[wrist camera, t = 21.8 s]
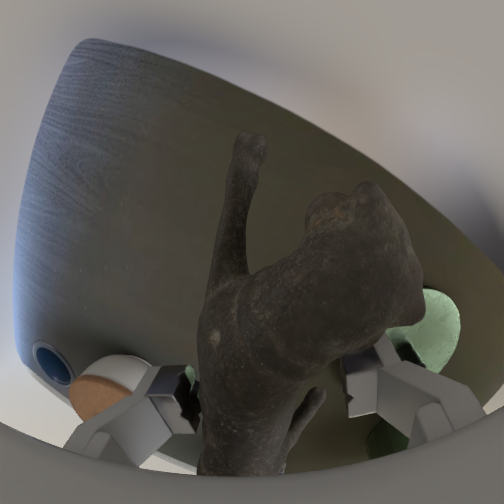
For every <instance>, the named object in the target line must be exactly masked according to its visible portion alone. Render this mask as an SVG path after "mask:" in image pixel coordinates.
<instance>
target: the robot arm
mask: <svg viewBox="0 0 504 504" xmlns="http://www.w3.org/2000/svg"><path fill="white" fill-rule="evenodd" d="M339 362H340V364H339V371H340V378H341V384H342V389H343V393H345V403H346V407H347V412H348V416H349V418H352V417H357V416H362V415H366V414H371V413H375V412H377V414H378V415H379V416H381V417H382V418H383V419H385V420H386V421H387V422H388V423H390V424H391V425H392V426H394V427H395V428H396V429H398V430H399V431H400V432H401V433H403V434H404V435H405V436H407V437H408V438H409V443H408V446H407V449H406V450H403V451H400V452H397V453H394V454H390V455H387V456H383V457H379V458H376V459H372V460H368V461H364V462H359V463H355V464H350V465H346V466H341V467H335V468H330V469H324V470H317V471H310V472H302V473H293V474H283V475H269V476H238V477H233V476H202V475H188V474H178V473H169V472H161V471H154V470H148V469H142V468H139V466H140V465H141V464H142V463H143V462H144V461H145V460H147V459H148V458H149V457H150V456H151V455H152V454H153V453H154V452H155V451H156V450H157V449H158V448H159V447H160V446H162V445H163V444H164V443H165V442H166V441H167V440H168V439H169V438H170V437H171V436H172V435H173V434H172V433H174V434H196V431H197V428H198V425H199V422H200V418H199V416H198V414H199V413H200V412H201V406H200V399H199V382H198V381H196V380H195V377H196V372H195V370H194V368H193V366H191V365H170V366H151V367H149V368H148V369H147V371H146V372H145V374H144V376H143V377H142V379H141V381H140V382H139V384H138V385H137V387H136V389H135V390H134V392H133V394H132V395H131V396H130V395H128V396H126V397H124V398H123V399H121V400H120V401H118V402H116V403H115V404H113V405H112V406H110V407H108V408H107V409H105V410H103V411H102V412H100V413H99V414H97V415H95V416H94V417H92V418H90V419H89V420H87V421H85V422H84V423H82V424H80V425H79V426H77V428H76V429H75V431H74V432H73V434H72V435H71V437H70V438H69V440H68V441H67V442H66V444H65V445H64V447H63V448H60V447H57V446H54V445H52V444H49V443H47V442H44V441H41V440H39V439H36V438H34V437H31V436H29V435H27V434H25V433H22V432H20V431H18V430H16V429H13V428H11V427H9V426H7V425H5V424H3V423H1V422H0V504H504V406H503V407H501V408H499V409H497V410H496V411H494V412H492V413H490V414H489V415H486V413H485V411H484V410H483V408H482V406H481V405H480V403H479V402H478V400H477V399H476V397H475V395H474V394H473V392H472V391H471V389H470V388H469V386H466V385H464V384H461V383H459V382H456V381H454V380H451V379H449V378H447V377H444V376H442V375H439V374H437V373H435V372H432V371H430V370H427V369H425V368H423V367H420V366H418V365H416V364H413V363H411V362H409V361H406V360H405V361H402V362H401V360H400V358H399V356H398V354H397V352H396V350H395V349H394V347H393V345H392V343H391V341H390V340H389V338H388V336H387V334H386V332H385V333H384V334H383V335H382V337H381V338H380V339H379V341H378V342H377V343H376V344H374V345H373V346H371V347H370V348H368V349H365V350H355V349H353V350H351V351H350V352H348V353H346V354H345V355H343V356H341V357H339Z"/></svg>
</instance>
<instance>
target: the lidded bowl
mask: <svg viewBox="0 0 504 504" xmlns="http://www.w3.org/2000/svg"><path fill="white" fill-rule="evenodd" d="M151 366H152V365H151V364H149V363H148V362H147V361H145V360H143V359H141V358H139V357H136V356H132V355H109V356H106V357H103V358H100V359H99V360H97V361H95V362H94V363H92V364H91V365H90V366H88V367H87V368H86V369H85V370H84V371H83V372H82V374H81V375H80V376H79V377H77V378H76V379H75V380H74V381H73V382H72V384H71V385H70V387H69V398H70V402H71V404H72V406H73V408H74V410H75V411H76V413H77V414H78V416H79V417H80V418H81V419H82V420H83V421H84V422H85V421H87V420H89V419H90V418H92V417H94V416H95V415H97V414H99V413H100V412H102V411H103V410H105V409H107V408H108V407H110V406H112V405H113V404H115V403H116V402H118V401H120V400H121V399H123V398H124V397H126V396H128V395H130V396H131V395H132V394H133V392H134V390H135V389H136V387H137V385H138V384H139V382H140V381H141V379H142V377H143V376H144V374H145V372H146V371H147V369H148V368H149V367H151Z"/></svg>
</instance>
